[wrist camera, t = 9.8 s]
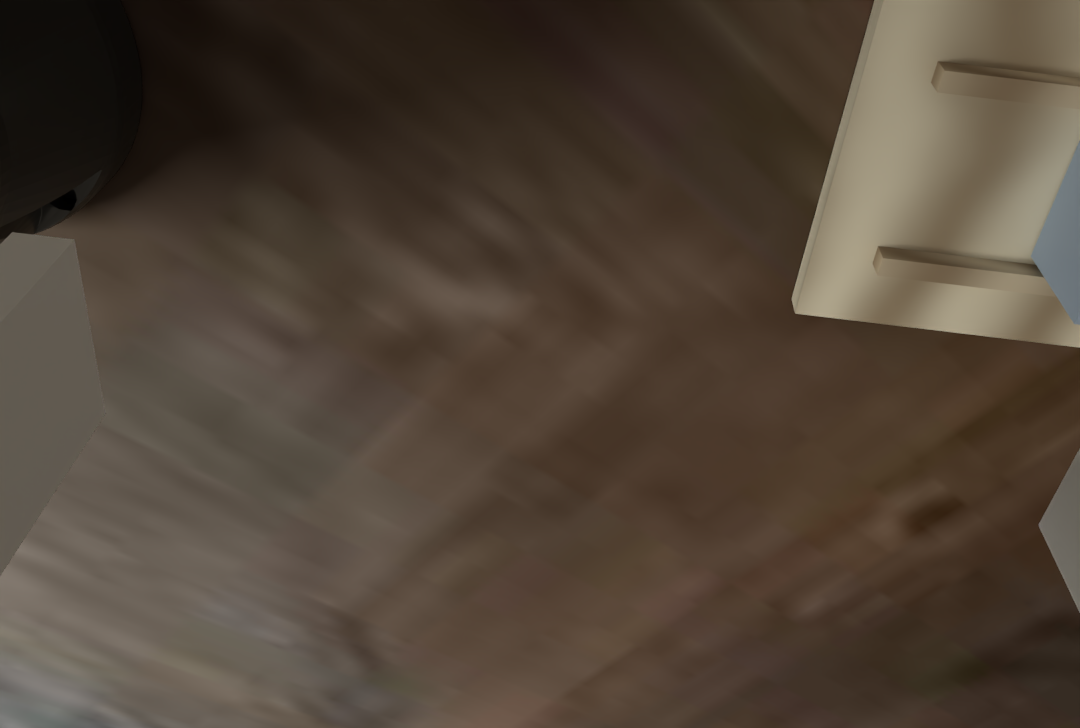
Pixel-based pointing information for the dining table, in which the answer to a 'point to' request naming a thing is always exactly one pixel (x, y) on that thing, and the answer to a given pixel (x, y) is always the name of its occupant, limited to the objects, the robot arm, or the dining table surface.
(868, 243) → the board
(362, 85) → the dining table surface
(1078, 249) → the carriage
